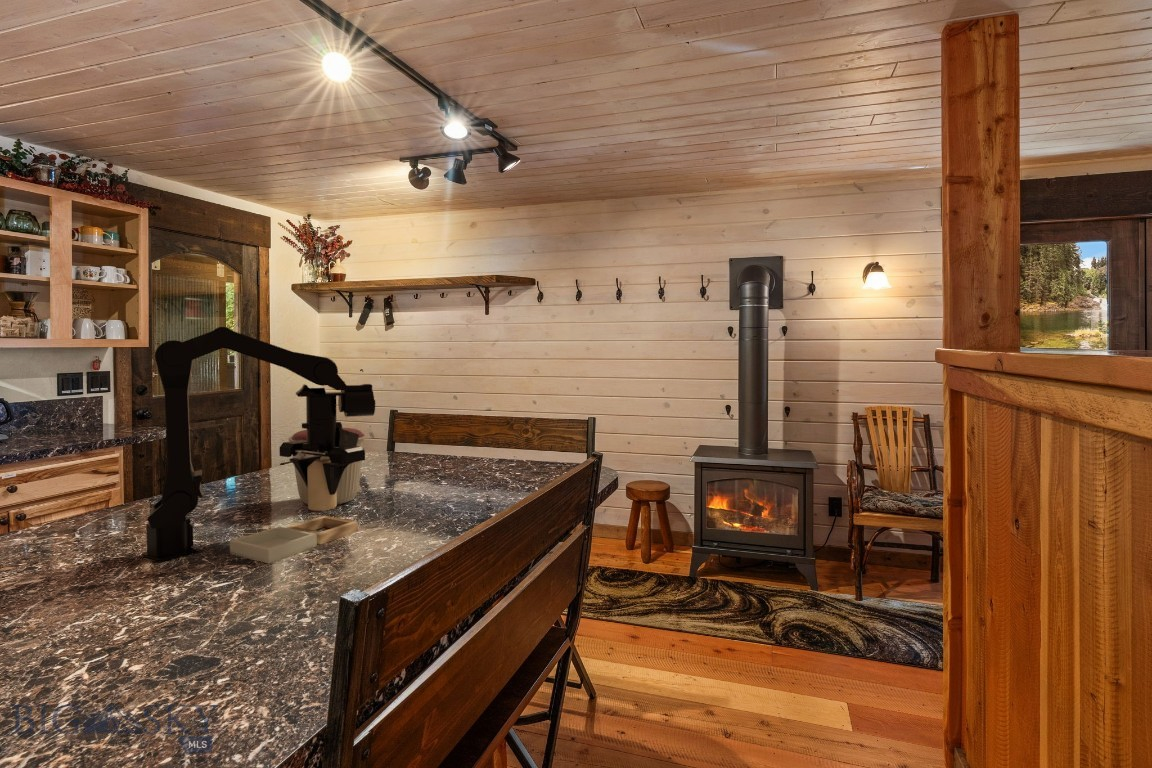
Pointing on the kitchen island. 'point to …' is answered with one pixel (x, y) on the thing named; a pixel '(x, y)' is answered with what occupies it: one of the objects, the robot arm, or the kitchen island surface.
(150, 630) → the kitchen island surface
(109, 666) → the kitchen island surface
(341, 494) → the canister
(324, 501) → the candle
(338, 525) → the tan shallow square box
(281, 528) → the parts tray
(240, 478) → the kitchen island surface
